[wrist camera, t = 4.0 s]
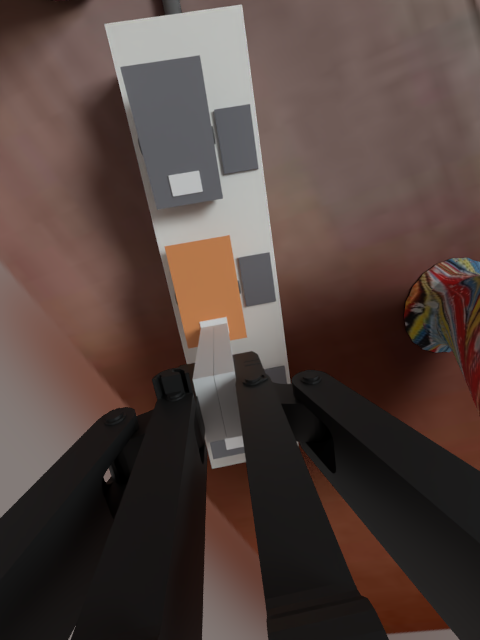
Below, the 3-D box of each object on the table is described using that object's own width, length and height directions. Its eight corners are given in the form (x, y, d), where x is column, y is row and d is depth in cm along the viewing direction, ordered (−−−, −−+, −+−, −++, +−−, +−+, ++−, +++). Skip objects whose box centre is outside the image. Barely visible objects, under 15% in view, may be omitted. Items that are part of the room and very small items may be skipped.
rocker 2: (195, 368, 19) (193, 374, 18) (250, 357, 19) (252, 362, 18) (212, 449, 20) (211, 460, 19) (265, 438, 20) (268, 448, 19)
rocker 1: (124, 77, 14) (117, 66, 12) (202, 65, 14) (202, 54, 13) (158, 208, 16) (155, 209, 15) (223, 197, 16) (225, 198, 15)
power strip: (63, -210, 15) (-3, -405, 10) (197, -224, 15) (190, -420, 10) (212, 434, 26) (212, 475, 21) (286, 419, 26) (301, 456, 22)
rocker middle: (166, 246, 16) (162, 246, 15) (230, 235, 17) (231, 234, 15) (188, 342, 18) (186, 349, 17) (246, 331, 18) (248, 337, 17)
